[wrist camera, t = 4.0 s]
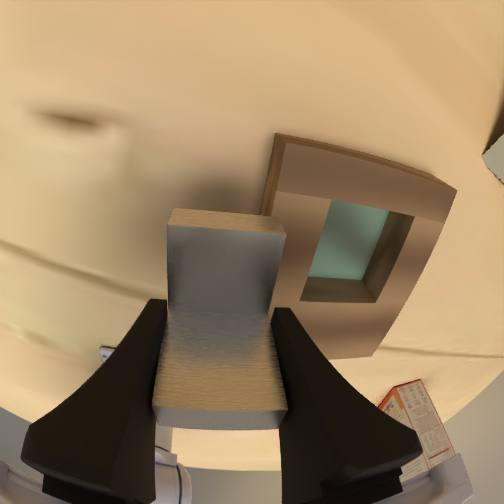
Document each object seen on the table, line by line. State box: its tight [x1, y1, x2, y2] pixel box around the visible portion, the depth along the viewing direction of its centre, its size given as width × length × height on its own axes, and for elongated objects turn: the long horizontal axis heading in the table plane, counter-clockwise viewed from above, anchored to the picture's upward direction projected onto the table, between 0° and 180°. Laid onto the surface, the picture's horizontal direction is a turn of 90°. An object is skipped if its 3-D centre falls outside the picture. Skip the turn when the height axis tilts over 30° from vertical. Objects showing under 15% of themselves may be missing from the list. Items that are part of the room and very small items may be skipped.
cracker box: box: [378, 379, 456, 482], centre depth 29 cm, size 14×6×21 cm, turn 178°
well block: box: [260, 133, 457, 360], centre depth 19 cm, size 16×12×3 cm
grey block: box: [152, 208, 288, 430], centre depth 9 cm, size 5×4×6 cm
